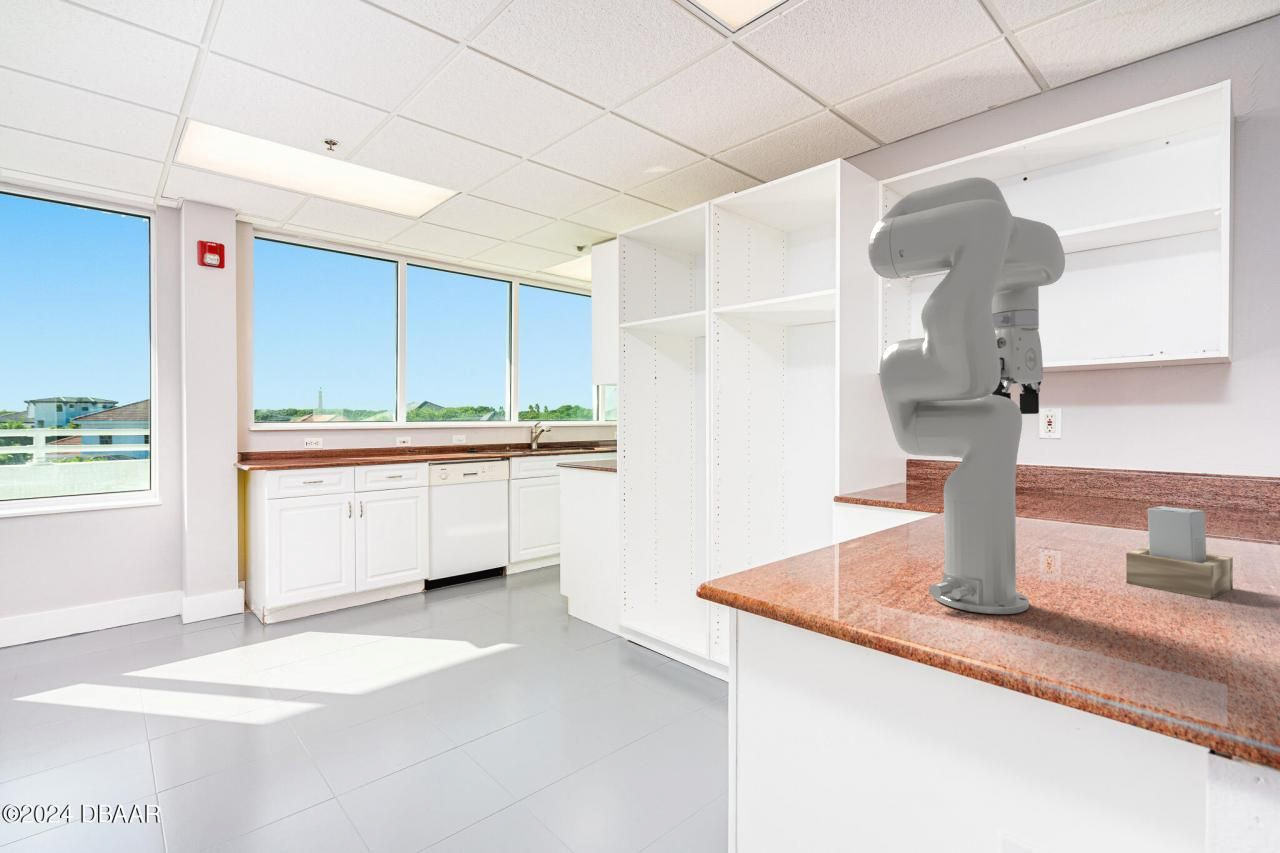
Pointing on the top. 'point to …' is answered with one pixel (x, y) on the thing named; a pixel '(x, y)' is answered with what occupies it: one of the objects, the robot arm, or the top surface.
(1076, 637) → the top surface
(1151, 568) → the well block
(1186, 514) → the skincare box
